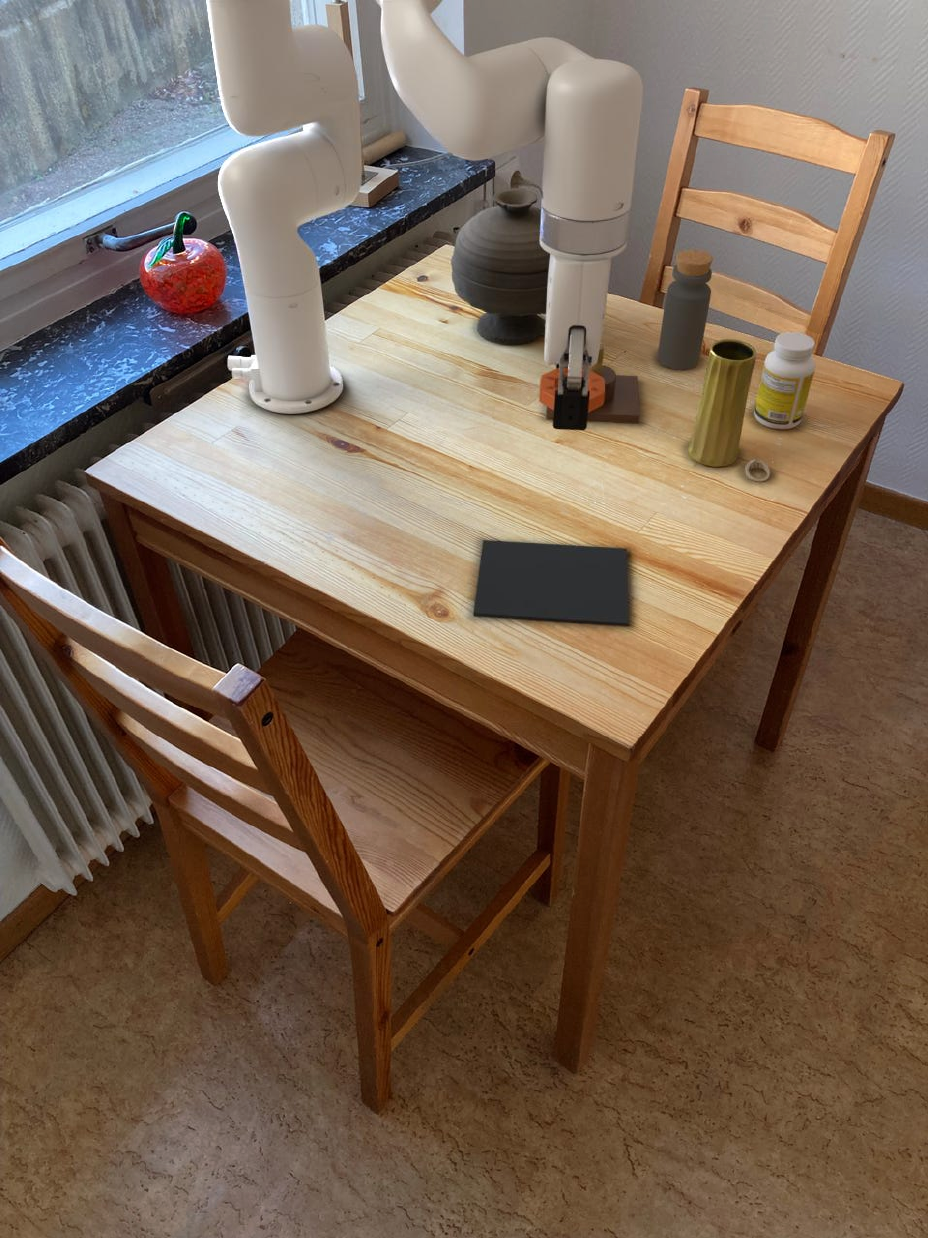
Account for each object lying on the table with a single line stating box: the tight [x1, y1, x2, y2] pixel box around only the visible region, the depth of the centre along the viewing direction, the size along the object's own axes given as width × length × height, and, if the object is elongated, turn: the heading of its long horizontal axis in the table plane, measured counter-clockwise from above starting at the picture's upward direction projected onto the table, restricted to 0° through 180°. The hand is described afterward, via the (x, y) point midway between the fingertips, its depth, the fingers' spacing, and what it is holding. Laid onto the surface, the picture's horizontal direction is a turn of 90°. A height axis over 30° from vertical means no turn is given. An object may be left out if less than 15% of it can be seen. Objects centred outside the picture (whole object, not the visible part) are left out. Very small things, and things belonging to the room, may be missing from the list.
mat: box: [472, 539, 630, 627], centre depth 107 cm, size 16×12×1 cm
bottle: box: [657, 249, 714, 371], centre depth 136 cm, size 6×6×15 cm
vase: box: [687, 338, 757, 468], centre depth 119 cm, size 6×6×14 cm
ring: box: [743, 458, 771, 483], centre depth 121 cm, size 2×3×3 cm
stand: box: [545, 343, 640, 424], centre depth 130 cm, size 12×10×8 cm
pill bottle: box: [753, 331, 816, 430], centre depth 126 cm, size 6×6×11 cm
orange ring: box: [538, 367, 605, 412], centre depth 96 cm, size 6×6×1 cm
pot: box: [450, 187, 550, 346], centre depth 141 cm, size 18×18×20 cm
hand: (570, 407), depth 97 cm, fingers closed on orange ring, 6 cm apart
